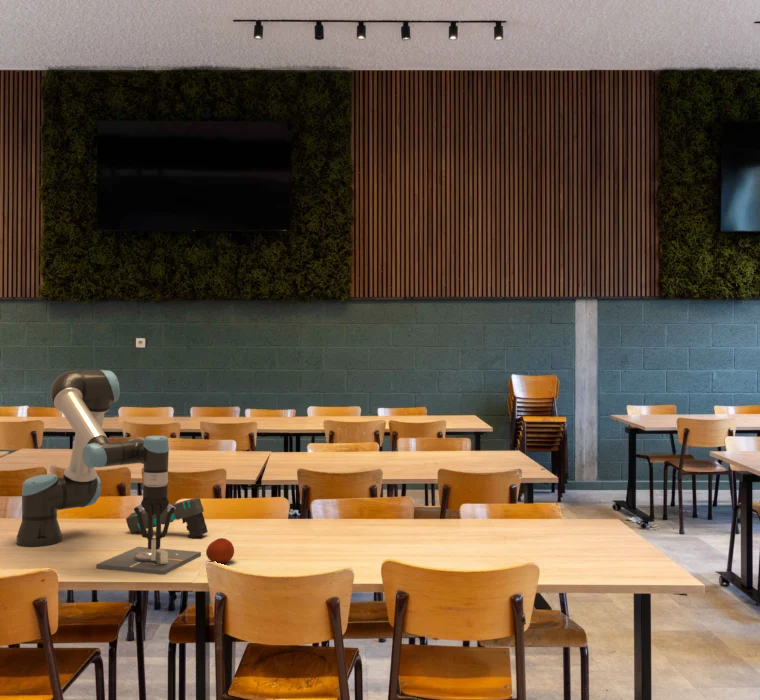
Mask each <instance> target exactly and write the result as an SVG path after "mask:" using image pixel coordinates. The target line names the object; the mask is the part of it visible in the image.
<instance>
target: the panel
mask: <svg viewBox="0 0 760 700" xmlns="http://www.w3.org/2000/svg"><path fill="white" fill-rule="evenodd" d="M144 548H148V546H147V547H146V546H136V547H134V548H132V549H129V550H126V551H124V552H122V553H120V554H117V555H116V556H113V557H110V558H108V559H106V560H104V561H101V562H99V563H96V569H102V570H103V569H104V570H111V571H124V572H133V573H134V572H135V573H145V574H154V575H155V574H156V575H166V574H167V573H169V572H171V571H173V570H175V569H177V568H179V567H181V566H183V565H185V564H187V563H189V562H191V561H194V560H195V559H196V558H198V557H202V556H201V555H202V552H201V551H196V550H195V551H194V550H180V549H171V548H169V549H168V548H164V549H165V550H166V551H167V552H168V563H165V564H159V563H157V562H155V561H151V562H142V561H137V560H135V559H134V552H135V551H137V550H140V549H144Z"/></svg>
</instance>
